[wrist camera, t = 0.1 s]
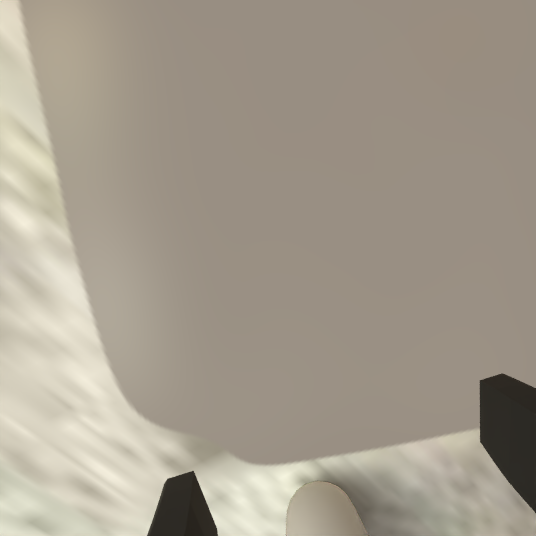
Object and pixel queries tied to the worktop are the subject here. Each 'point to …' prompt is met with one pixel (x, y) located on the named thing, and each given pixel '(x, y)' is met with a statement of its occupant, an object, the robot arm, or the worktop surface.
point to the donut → (322, 512)
